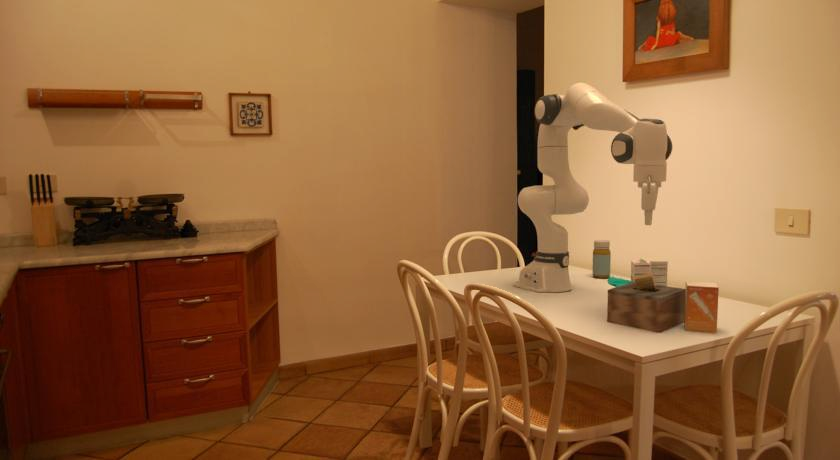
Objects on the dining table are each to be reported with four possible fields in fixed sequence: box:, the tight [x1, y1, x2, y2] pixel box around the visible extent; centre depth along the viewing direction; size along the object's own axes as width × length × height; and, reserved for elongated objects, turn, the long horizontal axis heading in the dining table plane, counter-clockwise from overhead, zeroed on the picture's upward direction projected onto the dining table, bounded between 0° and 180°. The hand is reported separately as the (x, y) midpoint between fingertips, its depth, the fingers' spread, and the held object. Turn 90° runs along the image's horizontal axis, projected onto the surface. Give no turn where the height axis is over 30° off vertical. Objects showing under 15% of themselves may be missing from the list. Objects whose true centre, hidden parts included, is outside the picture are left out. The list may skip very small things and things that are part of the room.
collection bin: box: [606, 282, 685, 334], centre depth 172 cm, size 16×16×10 cm
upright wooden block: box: [634, 273, 656, 292], centre depth 171 cm, size 5×2×5 cm, turn 67°
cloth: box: [606, 276, 631, 287], centre depth 225 cm, size 26×14×2 cm, turn 163°
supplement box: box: [639, 257, 669, 286], centre depth 208 cm, size 7×7×13 cm
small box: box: [683, 281, 720, 334], centre depth 164 cm, size 8×6×13 cm
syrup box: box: [630, 259, 651, 283], centre depth 194 cm, size 6×6×14 cm
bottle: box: [592, 239, 612, 279], centre depth 241 cm, size 7×7×15 cm
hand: (648, 223), depth 169 cm, fingers open, 8 cm apart
